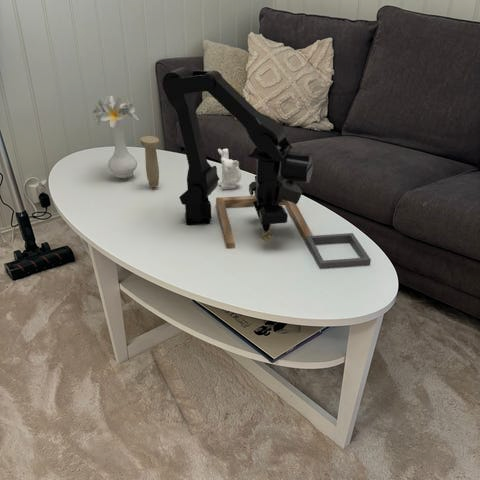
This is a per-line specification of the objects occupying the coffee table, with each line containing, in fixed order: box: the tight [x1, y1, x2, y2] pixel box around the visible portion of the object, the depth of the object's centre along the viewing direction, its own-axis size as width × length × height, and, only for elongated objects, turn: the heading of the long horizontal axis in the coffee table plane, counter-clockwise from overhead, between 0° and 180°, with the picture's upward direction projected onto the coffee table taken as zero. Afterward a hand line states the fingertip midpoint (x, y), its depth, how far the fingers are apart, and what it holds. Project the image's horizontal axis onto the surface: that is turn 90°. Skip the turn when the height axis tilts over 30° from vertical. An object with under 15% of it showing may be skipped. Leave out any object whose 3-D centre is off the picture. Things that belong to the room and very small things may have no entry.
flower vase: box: [92, 95, 140, 179], centre depth 148 cm, size 13×18×25 cm
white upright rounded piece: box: [217, 148, 242, 190], centre depth 144 cm, size 8×7×12 cm
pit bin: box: [305, 232, 372, 269], centre depth 113 cm, size 12×12×3 cm
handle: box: [140, 135, 160, 188], centre depth 144 cm, size 5×6×15 cm
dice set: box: [260, 228, 275, 242], centre depth 121 cm, size 5×5×2 cm
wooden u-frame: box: [215, 195, 314, 249], centre depth 127 cm, size 22×25×2 cm
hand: (265, 230), depth 122 cm, fingers closed
